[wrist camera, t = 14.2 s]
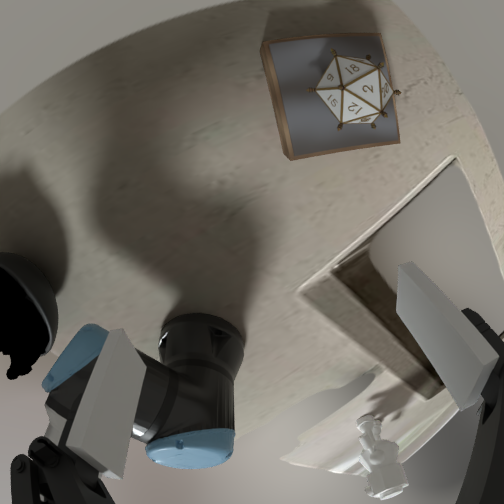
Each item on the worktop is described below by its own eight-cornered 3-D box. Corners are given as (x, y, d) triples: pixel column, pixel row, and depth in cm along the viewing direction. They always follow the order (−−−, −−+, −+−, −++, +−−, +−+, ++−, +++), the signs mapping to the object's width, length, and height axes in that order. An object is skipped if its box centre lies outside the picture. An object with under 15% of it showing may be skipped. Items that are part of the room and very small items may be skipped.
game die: (333, 77, 30) (377, 27, 21) (375, 132, 31) (431, 91, 22) (279, 95, 28) (322, 32, 18) (328, 159, 28) (389, 111, 19)
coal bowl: (-14, 236, 40) (-75, 288, 23) (56, 227, 40) (-14, 293, 23) (20, 320, 49) (-21, 380, 32) (90, 325, 49) (52, 402, 33)
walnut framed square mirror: (381, 137, 36) (402, 143, 31) (283, 153, 37) (291, 161, 32) (362, 40, 30) (382, 32, 24) (259, 50, 31) (263, 40, 25)
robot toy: (333, 421, 68) (352, 503, 45) (371, 401, 64) (399, 484, 42) (366, 438, 76) (384, 503, 53) (397, 421, 72) (421, 487, 50)
